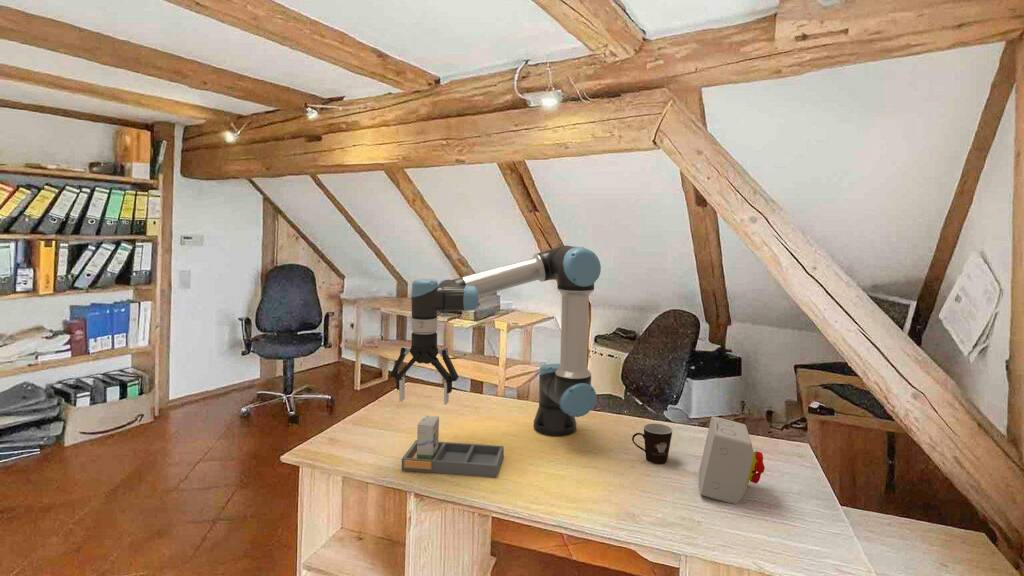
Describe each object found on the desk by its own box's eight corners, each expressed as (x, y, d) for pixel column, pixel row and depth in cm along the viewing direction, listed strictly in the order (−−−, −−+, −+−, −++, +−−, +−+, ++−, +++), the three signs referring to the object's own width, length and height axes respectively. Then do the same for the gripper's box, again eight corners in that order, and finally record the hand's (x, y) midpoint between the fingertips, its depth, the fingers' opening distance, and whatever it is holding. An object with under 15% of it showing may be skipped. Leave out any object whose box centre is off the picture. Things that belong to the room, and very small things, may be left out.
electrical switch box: (758, 516, 144) (777, 445, 140) (699, 499, 148) (715, 429, 144) (752, 490, 157) (768, 425, 154) (697, 475, 161) (712, 411, 158)
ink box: (422, 451, 172) (422, 414, 171) (439, 452, 172) (439, 415, 171) (416, 463, 164) (415, 424, 162) (433, 464, 164) (433, 425, 162)
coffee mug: (671, 456, 174) (673, 425, 173) (669, 467, 166) (671, 435, 165) (634, 450, 178) (635, 420, 177) (630, 461, 170) (632, 430, 169)
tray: (503, 456, 172) (503, 445, 172) (496, 478, 158) (496, 466, 157) (416, 450, 176) (416, 440, 175) (401, 471, 161) (400, 459, 161)
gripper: (378, 332, 161) (379, 403, 164) (463, 336, 158) (462, 408, 160) (388, 327, 168) (388, 395, 171) (468, 331, 165) (467, 400, 168)
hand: (424, 401), depth 166 cm, fingers open, 13 cm apart
